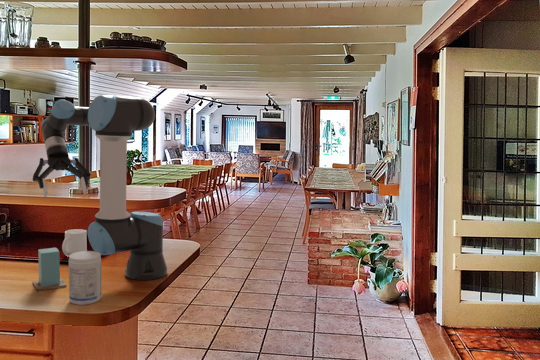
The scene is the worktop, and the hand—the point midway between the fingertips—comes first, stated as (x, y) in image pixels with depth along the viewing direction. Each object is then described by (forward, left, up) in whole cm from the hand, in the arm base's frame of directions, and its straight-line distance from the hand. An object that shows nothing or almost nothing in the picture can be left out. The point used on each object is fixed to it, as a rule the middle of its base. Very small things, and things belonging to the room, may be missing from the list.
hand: (66, 193), depth 173 cm
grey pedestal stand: (-8, +15, -29) cm, 33 cm away
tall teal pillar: (-8, +14, -28) cm, 33 cm away
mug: (+12, -13, -29) cm, 34 cm away
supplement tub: (-29, +19, -29) cm, 45 cm away
